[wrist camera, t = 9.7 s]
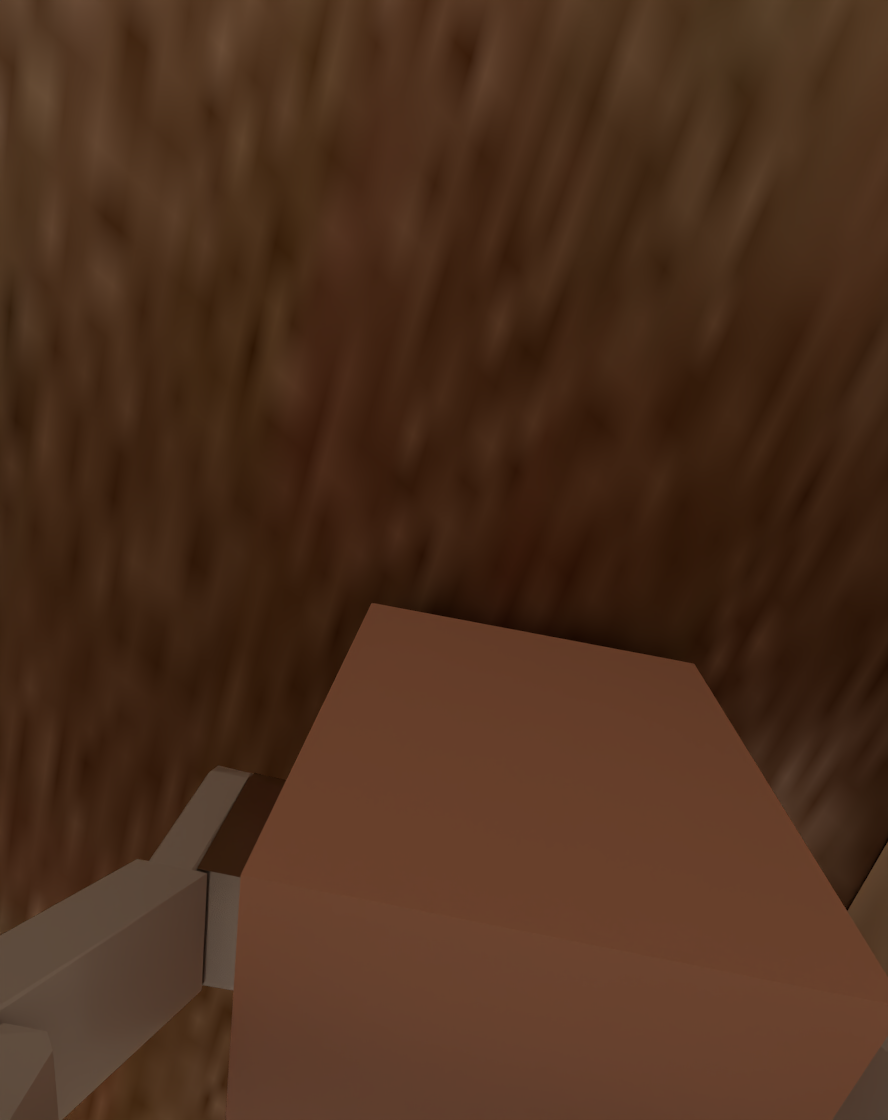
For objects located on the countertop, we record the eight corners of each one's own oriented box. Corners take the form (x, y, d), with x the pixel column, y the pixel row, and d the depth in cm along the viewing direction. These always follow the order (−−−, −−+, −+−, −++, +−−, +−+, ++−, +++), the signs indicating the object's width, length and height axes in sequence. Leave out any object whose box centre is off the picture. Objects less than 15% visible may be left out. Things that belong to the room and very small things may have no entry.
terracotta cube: (338, 847, 11) (217, 1227, 6) (372, 602, 9) (241, 874, 4) (607, 901, 11) (693, 1327, 6) (693, 663, 9) (906, 1007, 4)
